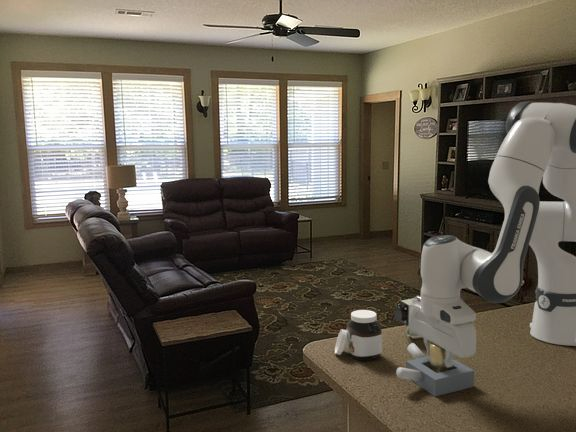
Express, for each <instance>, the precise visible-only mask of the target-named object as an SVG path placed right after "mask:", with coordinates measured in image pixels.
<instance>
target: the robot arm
mask: <svg viewBox="0 0 576 432" xmlns="http://www.w3.org/2000/svg"><path fill="white" fill-rule="evenodd" d="M505 131H506V136H505V137H504V139H503V141H502V142H501V145H500V146H499V148H498V150H497V153H496V154H495V158H494V161H493V162H492V164H491V167H490V170H489V175H488V180H487V183H488V185H489V189H490V191H491V192H492V194H493V195H494V197H495V198H496V199H497V200H498V201H499V202H500V203H501V205H502V207H503V210H504V220H503V222H502V226H501V229H500V231H499V236H498V239H497V242H496V246H495V249H494V250H493V251H492V252H490V251H488V250H486V249H483V248H480V247H476V246H473V245H471V244H467V243H466V242H463V241H462V240H460V239H458V237H457V236H455V235H451V234H450V235H449V234H448V235H446V234H445V235H436V236H433V237H429V239H426V241H425V242H424V243H423V246H422V250H421V256H420V277H421V280H422V282H421V288H420V295H416V296H414V297H413V298H414V299H413V300H412V306H411V309H410V316H409V327H410V330H411V331H412V332H414V333H416V334H418V335H420V336H422V337H423V338H422V339H423V343H424V346H425V347H426V357H427V356H429V357H430V342H432V343H434V344H436V345H438V346H440V347H442V348H443V349H445V353H446V354H447V356H446V358H443V365H444V366H446V367H447V368H449V367H452V366H453V359H455V358H456V356H457V357H458V358H460V359H465V358H471V357H473V356H474V355H475V353H476V351H477V330H476V325H475V324H474V322H475V321H477V314H476V312H475V311H474V309H472V308H471V307H470V306H469V305H467V303H466V302H465V301H464V300H463V299H462V298H461V290H462V289H469V290H471V291H472V292H474V293H476V294H477V295H478V296H480V297H482V298H483V299H484V300H485V301H487V302H489V303H493V304H502V303H505V302H508V301H510V300H511V299H512V298H514V297H515V296H516V295H517V294H518V293H519V291H520V289H521V288H522V285H523V281H524V280H523V279H524V267H525V265H524V264H525V261H526V256H527V253H528V249H529V246H530V248H531V249H532V251H533V253H534V254H535V258H536V261H537V275H538V276H537V277H538V279H537V282H538V283H537V286H536V289H535V299H536V301H535V302H534V307H533V314H532V319H531V322H529V328H530V331H529V334H530V335H531V336H532V337H533V338H535V339H537V340H539V341H541V342H545V343H548V344H552V345H553V344H554V345H559V346H573V347H576V256H575V255H574V254H572V253H570V252H567V251H565V250H564V249H562V248H561V247H560V246H559V242H576V105H574V104H569V103H564V102H536V101H533V100H530V101H522V102H519V103H517V104H516V105H514V107H512V108H511V109H510V111H509V112H508V115H507V117H506V121H505ZM541 183H542V184H543V187H544V188H545V189H546V190H547V192H549V193H550V194H551V195H553V196H554V197H557V198H558V199H560V200H561V199H562V200H563V201H545V200H544V201H541V199H540V195H539V193H540V188H541V187H540V186H541Z"/></svg>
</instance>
